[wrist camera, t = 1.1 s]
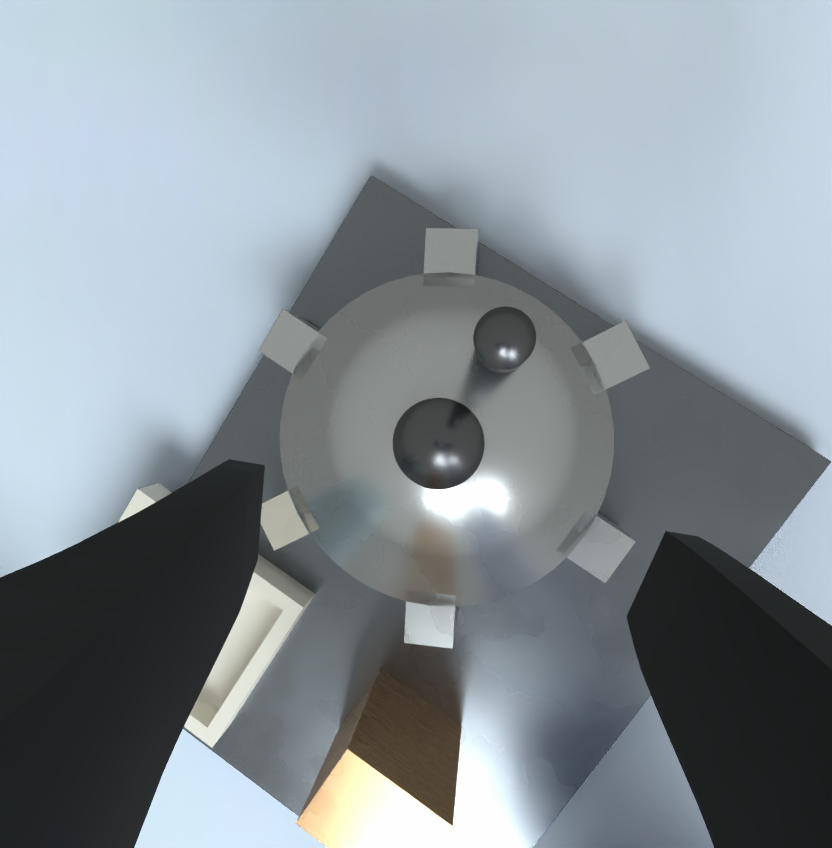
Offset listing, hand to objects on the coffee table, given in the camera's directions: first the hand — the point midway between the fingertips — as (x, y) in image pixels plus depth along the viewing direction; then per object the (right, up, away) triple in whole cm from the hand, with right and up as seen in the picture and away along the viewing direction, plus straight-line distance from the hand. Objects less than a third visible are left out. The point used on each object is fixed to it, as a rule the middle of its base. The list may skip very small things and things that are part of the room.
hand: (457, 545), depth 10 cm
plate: (-1, -4, +13) cm, 13 cm away
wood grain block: (-1, -10, +12) cm, 16 cm away
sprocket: (0, +2, +11) cm, 11 cm away
